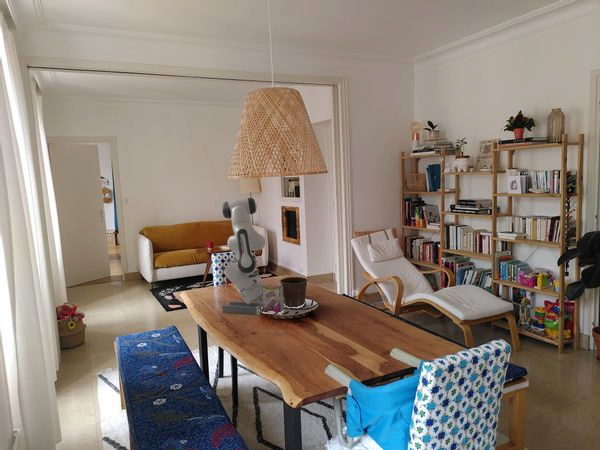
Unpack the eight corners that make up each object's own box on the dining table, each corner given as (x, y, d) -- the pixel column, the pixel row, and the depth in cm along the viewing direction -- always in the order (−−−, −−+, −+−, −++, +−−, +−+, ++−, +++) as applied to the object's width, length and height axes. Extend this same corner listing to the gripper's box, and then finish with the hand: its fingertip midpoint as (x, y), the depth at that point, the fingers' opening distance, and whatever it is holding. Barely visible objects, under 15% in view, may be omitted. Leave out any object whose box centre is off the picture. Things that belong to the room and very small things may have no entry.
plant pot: (314, 306, 263) (313, 279, 261) (291, 312, 253) (289, 284, 252) (298, 301, 276) (297, 275, 274) (276, 306, 267) (274, 280, 265)
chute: (231, 307, 270) (231, 298, 270) (268, 309, 262) (267, 300, 262) (221, 313, 259) (221, 304, 259) (259, 315, 251) (258, 306, 250)
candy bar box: (262, 314, 253) (261, 286, 251) (266, 311, 257) (264, 283, 256) (281, 315, 249) (279, 286, 247) (284, 313, 253) (283, 284, 252)
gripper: (241, 287, 248) (258, 305, 245) (257, 279, 267) (273, 295, 265) (234, 295, 250) (251, 313, 248) (251, 286, 269) (266, 302, 267)
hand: (263, 304), depth 256 cm, fingers closed
